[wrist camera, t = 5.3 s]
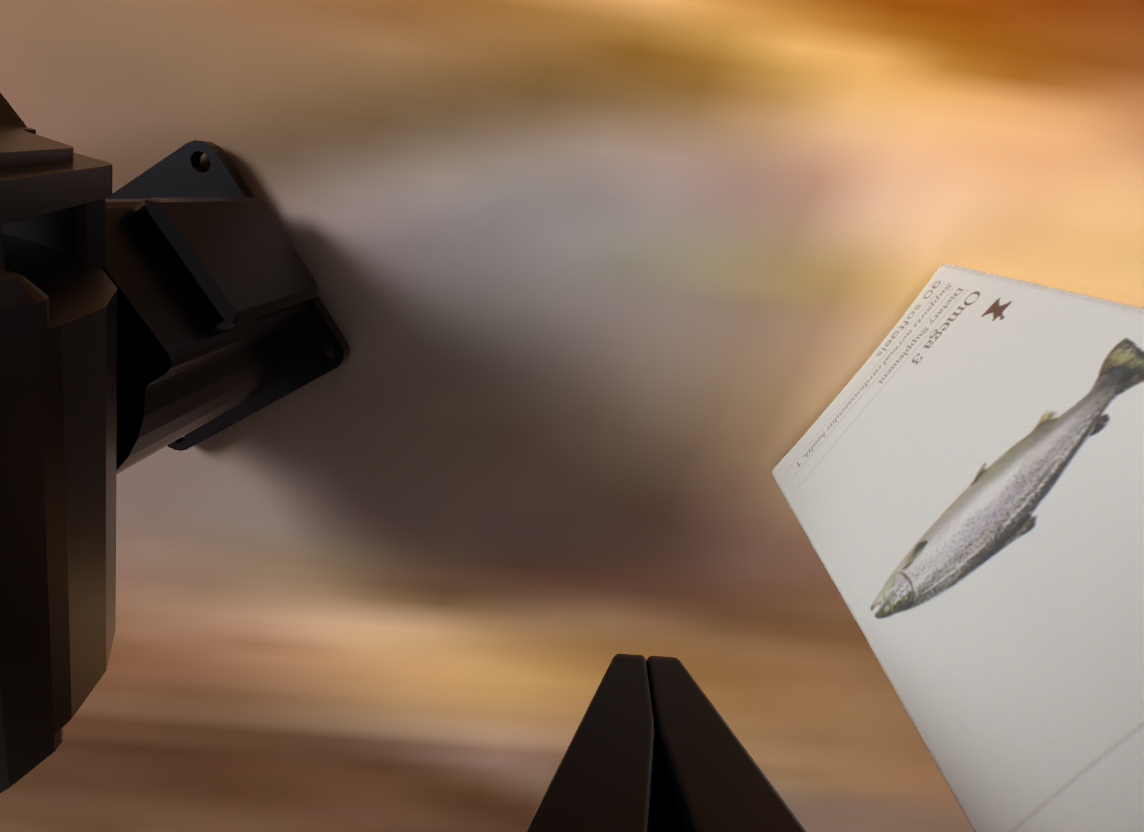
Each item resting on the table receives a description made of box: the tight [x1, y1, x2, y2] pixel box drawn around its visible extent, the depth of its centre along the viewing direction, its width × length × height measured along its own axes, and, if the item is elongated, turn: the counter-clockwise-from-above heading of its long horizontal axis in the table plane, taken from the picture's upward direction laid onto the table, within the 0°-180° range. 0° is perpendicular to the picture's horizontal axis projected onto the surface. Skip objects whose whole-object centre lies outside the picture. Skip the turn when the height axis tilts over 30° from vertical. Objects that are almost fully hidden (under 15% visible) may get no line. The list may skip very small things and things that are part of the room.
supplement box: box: [772, 263, 1144, 832], centre depth 12 cm, size 7×7×13 cm
